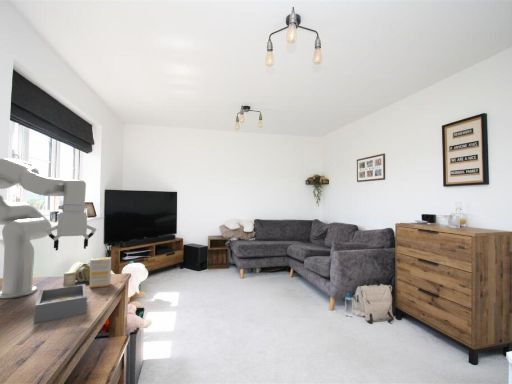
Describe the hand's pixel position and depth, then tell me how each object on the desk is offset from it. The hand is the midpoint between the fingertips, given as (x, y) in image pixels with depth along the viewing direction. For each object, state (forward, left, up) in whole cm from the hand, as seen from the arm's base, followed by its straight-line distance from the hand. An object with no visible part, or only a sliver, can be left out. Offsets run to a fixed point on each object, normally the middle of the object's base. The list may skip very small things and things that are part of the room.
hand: (71, 249), depth 109 cm
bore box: (+13, -2, -20) cm, 24 cm away
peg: (0, 0, -20) cm, 20 cm away
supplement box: (-9, +12, -20) cm, 25 cm away
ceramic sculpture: (-21, +6, -21) cm, 30 cm away
